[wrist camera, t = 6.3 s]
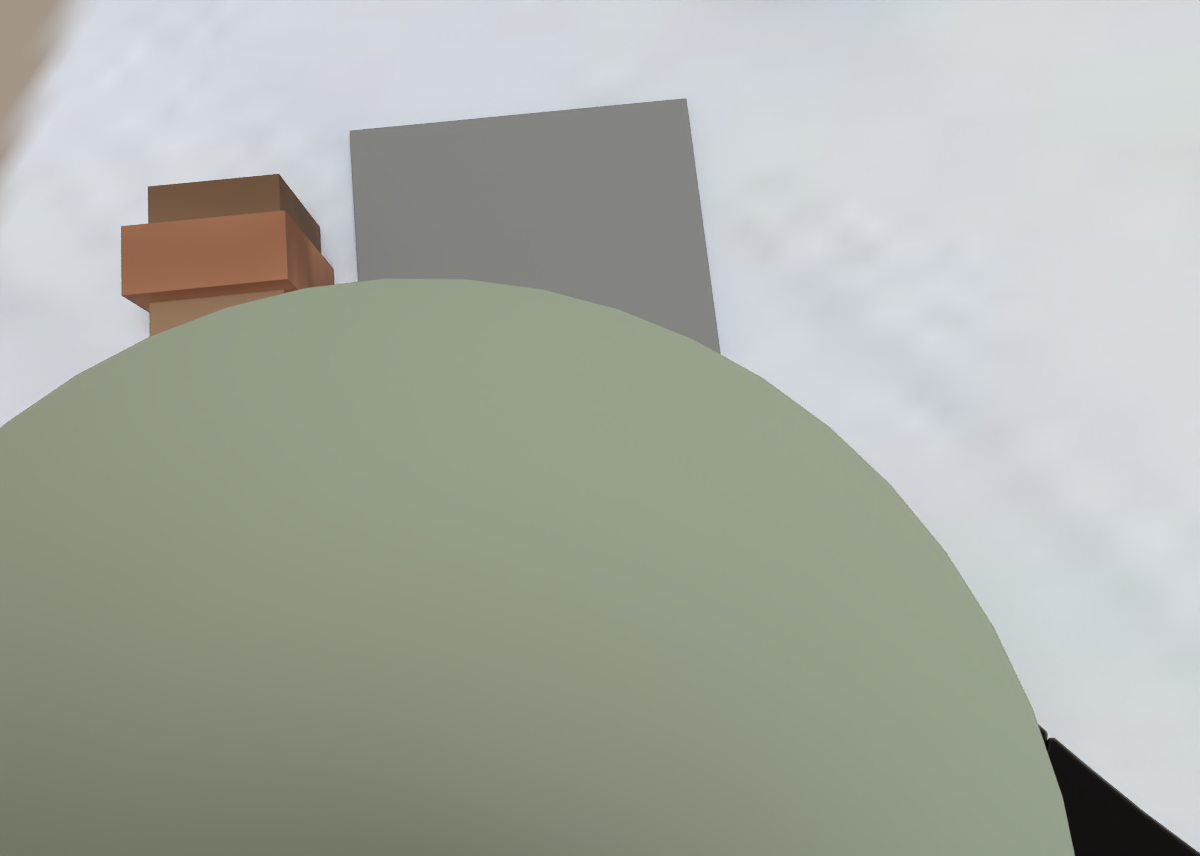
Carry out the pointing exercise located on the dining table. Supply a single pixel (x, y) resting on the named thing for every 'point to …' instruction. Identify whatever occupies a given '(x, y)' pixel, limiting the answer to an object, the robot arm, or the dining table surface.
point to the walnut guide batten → (219, 248)
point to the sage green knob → (482, 603)
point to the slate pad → (543, 208)
